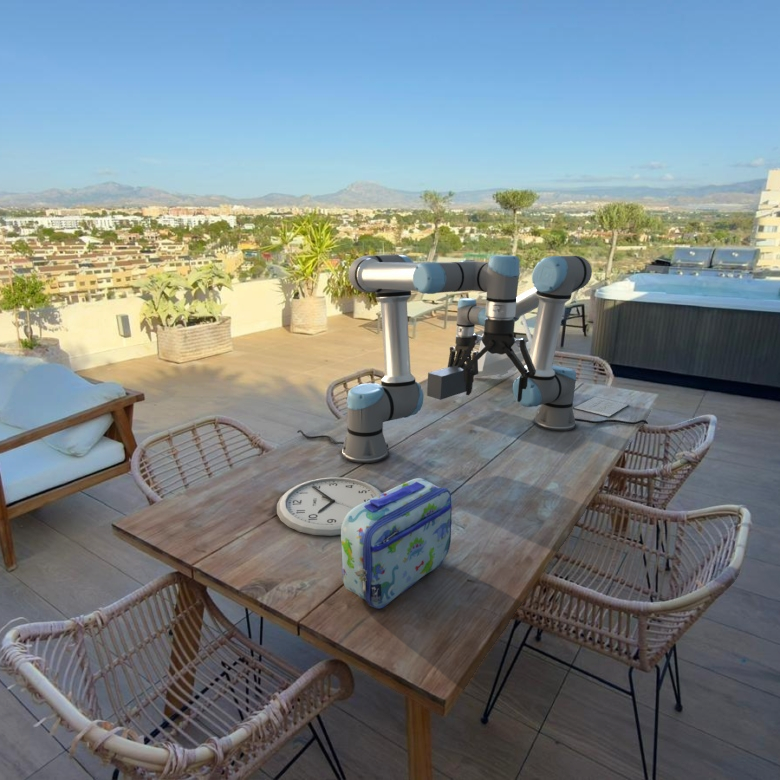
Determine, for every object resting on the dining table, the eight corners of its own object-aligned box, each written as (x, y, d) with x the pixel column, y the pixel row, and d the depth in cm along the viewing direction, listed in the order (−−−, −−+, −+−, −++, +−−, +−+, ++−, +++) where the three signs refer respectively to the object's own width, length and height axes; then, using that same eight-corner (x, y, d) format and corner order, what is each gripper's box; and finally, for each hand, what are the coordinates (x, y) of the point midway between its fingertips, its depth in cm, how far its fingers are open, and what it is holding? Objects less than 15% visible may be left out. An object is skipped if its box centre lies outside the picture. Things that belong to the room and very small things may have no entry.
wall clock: (392, 527, 129) (268, 531, 127) (391, 533, 130) (269, 537, 127) (383, 473, 158) (282, 475, 155) (383, 478, 158) (282, 480, 156)
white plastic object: (488, 419, 266) (468, 396, 241) (469, 346, 288) (449, 319, 263) (559, 395, 254) (545, 368, 229) (533, 321, 276) (519, 290, 251)
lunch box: (370, 622, 101) (370, 527, 94) (335, 595, 108) (333, 505, 102) (455, 565, 118) (460, 481, 112) (420, 544, 125) (423, 465, 119)
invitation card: (608, 416, 214) (573, 407, 224) (608, 416, 214) (573, 408, 224) (628, 404, 229) (594, 396, 238) (628, 405, 229) (594, 397, 238)
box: (459, 385, 232) (460, 363, 229) (472, 389, 227) (473, 367, 224) (426, 395, 217) (428, 372, 214) (440, 399, 212) (441, 376, 209)
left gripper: (448, 316, 134) (444, 394, 141) (549, 324, 126) (540, 407, 132) (456, 312, 141) (452, 387, 147) (552, 319, 132) (543, 398, 139)
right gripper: (440, 333, 224) (438, 384, 231) (479, 341, 211) (475, 394, 218) (451, 330, 229) (448, 380, 236) (490, 338, 216) (485, 391, 223)
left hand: (493, 397), depth 140 cm, fingers open, 13 cm apart
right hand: (461, 387), depth 227 cm, fingers closed on box, 7 cm apart
